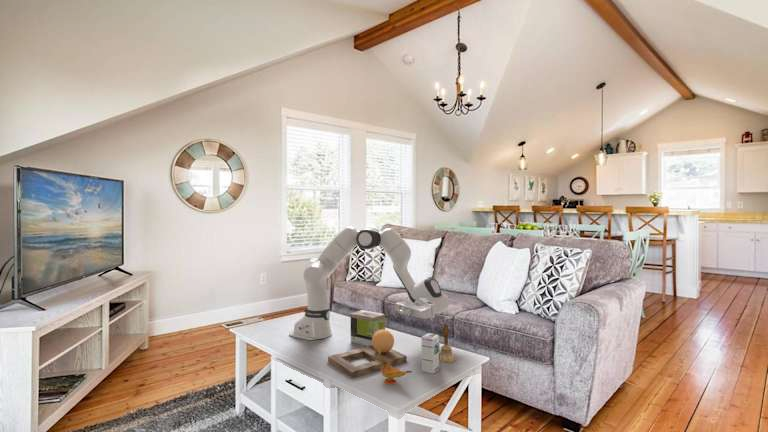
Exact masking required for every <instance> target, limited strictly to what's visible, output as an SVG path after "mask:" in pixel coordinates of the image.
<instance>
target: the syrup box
mask: <svg viewBox="0 0 768 432" xmlns="http://www.w3.org/2000/svg"><path fill="white" fill-rule="evenodd" d="M440 352H441V349H440V335H439V334H437V333H436V334H435V333H431V332H430V333H429V332H428V333H426V334H424V335H422V336H421V371H422V372H425V373H430V374H435V373H436V372H438V370H440V369H441V368H440V367H441V365H440V362H441V361H440Z"/></svg>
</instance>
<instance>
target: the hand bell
mask: <svg viewBox="0 0 768 432" xmlns="http://www.w3.org/2000/svg"><path fill="white" fill-rule="evenodd" d="M442 333H443V337H444V340H443V341H444V342H443V343H444V344H443V345H441V347H440V362H442V363H453V362H455V361H457V359H456V357H455V355H454V354H453V351H452V350H453V349H452V347H451V345H449V334H450V330H449V326H448V323H446V322H444V325H443V327H442Z"/></svg>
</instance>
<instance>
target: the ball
mask: <svg viewBox="0 0 768 432" xmlns="http://www.w3.org/2000/svg"><path fill="white" fill-rule="evenodd" d="M394 344H395V338H394V335H393V334H392V333H391V331H389V330H387V329H385V330H378V331H377V332H376V333H375V334H374V335H373V337H372V345H373V347H374V349H375V350H376V351H378V349H379V350H380V351H381V353H385V352H388V351H390V350H391V349H393V346H394Z"/></svg>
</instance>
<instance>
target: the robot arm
mask: <svg viewBox="0 0 768 432" xmlns="http://www.w3.org/2000/svg"><path fill="white" fill-rule="evenodd" d="M357 246H358V247H359V248H361V249H363V250H372V249H375V248H377V247H380V248H382V249H383V250H384V251H385V253H386V254H387V255H388V257H389V258H390V260H391V262H392V267H393V270H394V272H395V274H396V276H397V277H398V279H399V281H400V283H401V284H402V286H403V287H404V289H405V290H406V293H407V296H408V298H409V301H405V300H404V301H398V302H396V303H395V311H397V313H398V314H400V315H410V316H413V317H416V318H420V319H423V320H424V319H434V318H435V316H436V315H437V314H441V313H444V312H446V310H448V309H449V306H450V304H451V302H450V298H449V297H448V295H447V294H445V293H444V292H443V291H442V289H441V287H440V286H441V285H440V284H439V282H438V281H437V279H436V278H434V277H432V276H431V277H430V276H428V277H426V278H424V279H422V280H421V281H420V282H419V283H416V282H415V281H414V279H413V277H412V276H411V274H410V272H409V270H408V266H409V265H408V264H409V261H410V259H411V256H412V249H411V248H410V246H409V244H408V243H407V242H406V240H404V238H403V237H402V235H400V234H399V233H398V232H397V231H396V230H394V228H390V227H389V228H388V227H387V228H385V229H383V230H382V231H379V229H377V228H373V227H366V228H363V229H360V230H359V229H357V228H355V227H353V226H350V225H349V226H347V227H345V228H344V229H343V230H341V231H340V232H339V233H337V235H336V236H335V237H334V238H333V239H332V240H331V241H330V243H328V245H327V246H326V247H325V248H324V250H323V251H322V252H321V254H320V255H319V256H318V257H317V259H316V260H315V261H313V262H312V263H310V264H309V265H307V267H306V268H305V269H304V271H303V279H304V281H305V286H306V293H307V308H305V309H304V310H303V313H304V315H303V316H301V318H299V319H298V320H296V322H295V323H294V325H293V326H294V327H293V329H292V330H291V331H290V332H289V333H288V335H289V336H290V337H294V338H297V339H302V340H306V341H314V340H319V339H320V340H321V339H326V338H329V337H331V336H332V335H333V332H332V329H331V320H330V317H331V315H330V313H331V312H330V311H331V309H330V293H329V289H328V284H327V279H328V278H329V277H330V276H331V275H332V274H333V273H334V271H335V270H336V269H337V268H338V266H340V264H341V263H343V260H345V258H346V257H347V256H348V255H349V254H350V253H351V252H352V251H353V249H354V248H356V247H357Z"/></svg>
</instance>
